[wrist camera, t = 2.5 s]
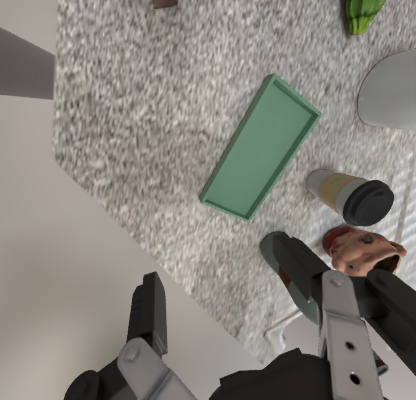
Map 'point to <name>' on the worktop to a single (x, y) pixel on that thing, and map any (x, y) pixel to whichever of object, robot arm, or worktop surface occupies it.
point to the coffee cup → (352, 196)
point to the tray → (260, 149)
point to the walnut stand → (164, 3)
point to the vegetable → (361, 13)
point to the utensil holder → (390, 93)
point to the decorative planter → (361, 251)
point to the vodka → (305, 307)
